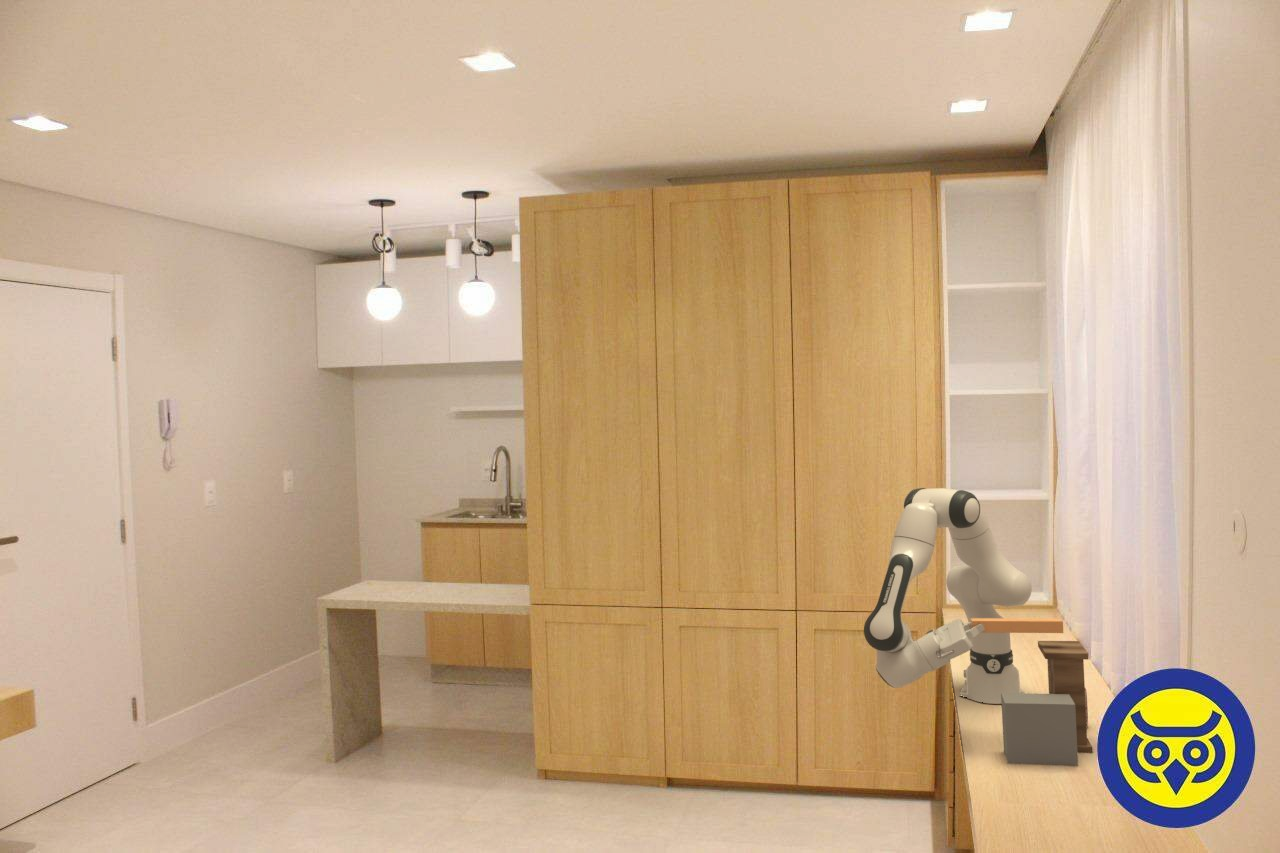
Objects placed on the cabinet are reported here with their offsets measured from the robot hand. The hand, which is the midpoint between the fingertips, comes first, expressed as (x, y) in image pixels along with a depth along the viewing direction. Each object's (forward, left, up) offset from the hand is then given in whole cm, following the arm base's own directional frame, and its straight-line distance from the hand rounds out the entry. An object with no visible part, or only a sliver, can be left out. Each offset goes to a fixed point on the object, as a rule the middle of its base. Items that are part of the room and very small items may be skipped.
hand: (982, 623), depth 252 cm
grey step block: (+11, +11, -31) cm, 35 cm away
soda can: (-13, +23, -31) cm, 41 cm away
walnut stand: (0, +19, -31) cm, 36 cm away
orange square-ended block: (0, +8, -2) cm, 8 cm away
